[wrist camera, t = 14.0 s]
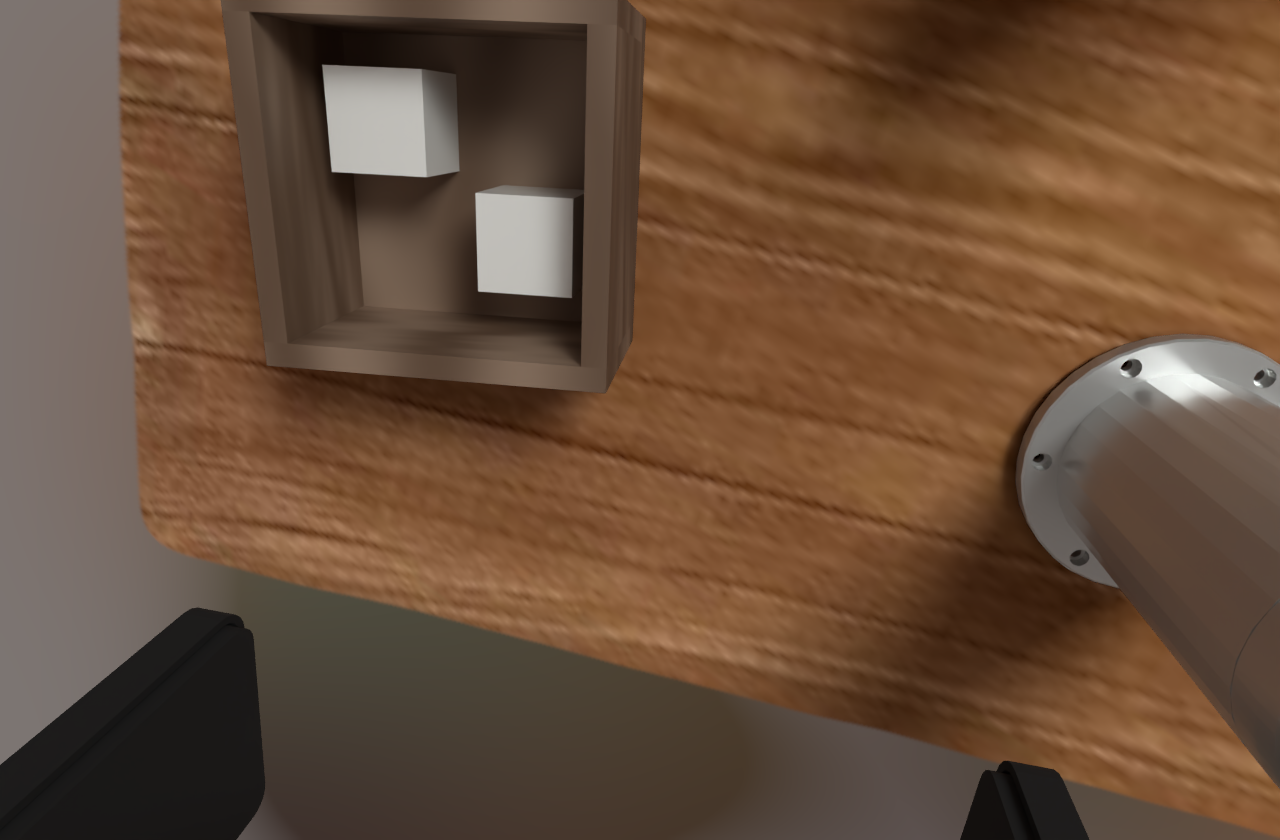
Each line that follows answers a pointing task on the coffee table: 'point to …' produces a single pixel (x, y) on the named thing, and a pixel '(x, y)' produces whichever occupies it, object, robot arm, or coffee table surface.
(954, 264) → the coffee table surface
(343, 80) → the cube
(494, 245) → the cube
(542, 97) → the box
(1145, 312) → the coffee table surface
